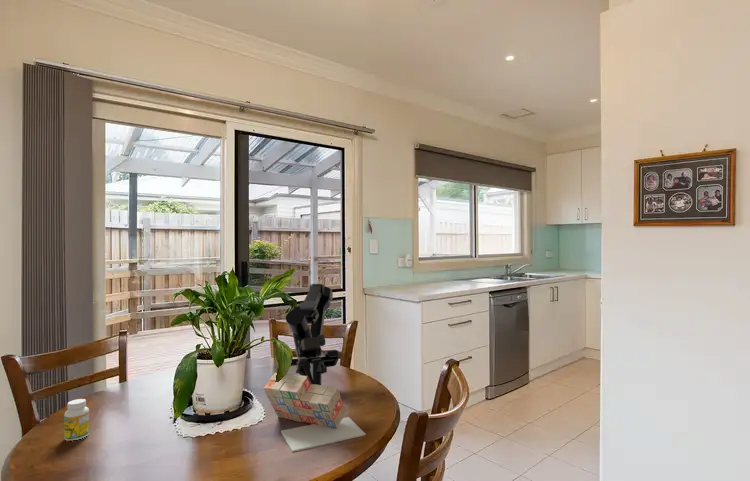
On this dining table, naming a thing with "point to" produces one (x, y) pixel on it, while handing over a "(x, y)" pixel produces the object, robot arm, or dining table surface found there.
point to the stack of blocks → (305, 401)
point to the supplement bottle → (76, 420)
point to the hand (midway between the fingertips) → (313, 387)
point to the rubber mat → (320, 435)
